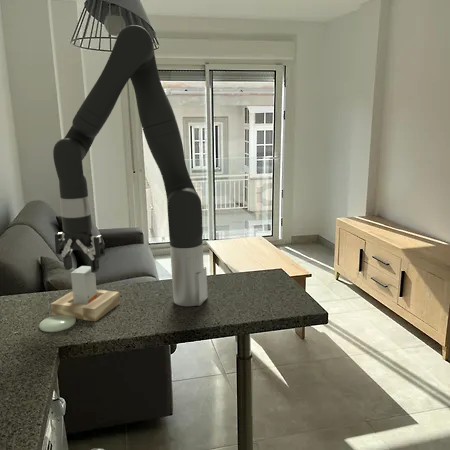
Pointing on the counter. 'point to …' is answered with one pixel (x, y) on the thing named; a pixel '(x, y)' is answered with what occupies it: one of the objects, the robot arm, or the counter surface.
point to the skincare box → (83, 285)
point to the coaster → (57, 323)
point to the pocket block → (86, 306)
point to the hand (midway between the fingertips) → (81, 270)
